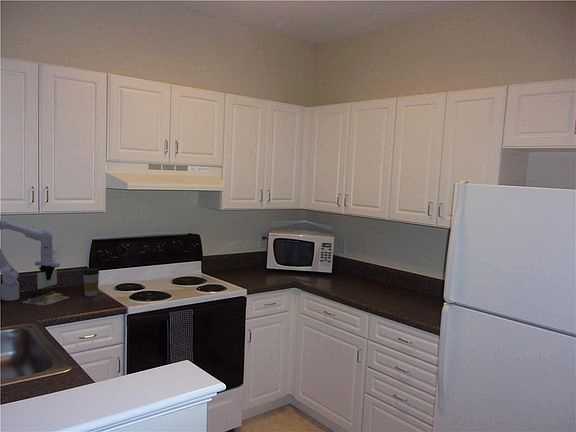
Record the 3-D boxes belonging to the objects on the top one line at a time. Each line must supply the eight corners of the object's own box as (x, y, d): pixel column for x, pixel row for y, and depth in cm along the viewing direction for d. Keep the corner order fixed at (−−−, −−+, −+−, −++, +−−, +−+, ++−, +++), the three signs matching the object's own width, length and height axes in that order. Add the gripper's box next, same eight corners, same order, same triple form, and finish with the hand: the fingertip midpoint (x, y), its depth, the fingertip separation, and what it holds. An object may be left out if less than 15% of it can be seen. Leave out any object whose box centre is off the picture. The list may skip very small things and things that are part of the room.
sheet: (37, 288, 247) (37, 273, 246) (55, 283, 259) (54, 269, 258) (39, 288, 247) (39, 273, 246) (56, 283, 258) (56, 269, 257)
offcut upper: (44, 299, 241) (44, 296, 240) (56, 295, 248) (56, 293, 248) (50, 300, 240) (50, 297, 239) (62, 296, 247) (62, 293, 247)
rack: (21, 304, 240) (21, 298, 240) (47, 296, 256) (47, 290, 256) (45, 307, 236) (45, 301, 236) (70, 298, 252) (70, 293, 252)
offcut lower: (43, 302, 240) (43, 299, 240) (58, 297, 250) (58, 295, 250) (49, 303, 239) (49, 300, 239) (64, 298, 249) (64, 295, 249)
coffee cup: (98, 298, 255) (97, 270, 254) (81, 298, 253) (81, 271, 252) (100, 294, 263) (100, 267, 262) (85, 294, 261) (84, 268, 260)
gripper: (63, 254, 253) (64, 279, 254) (41, 252, 257) (42, 277, 258) (53, 256, 246) (53, 282, 247) (31, 254, 250) (32, 279, 252)
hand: (47, 279), depth 252 cm, fingers closed on sheet, 1 cm apart
